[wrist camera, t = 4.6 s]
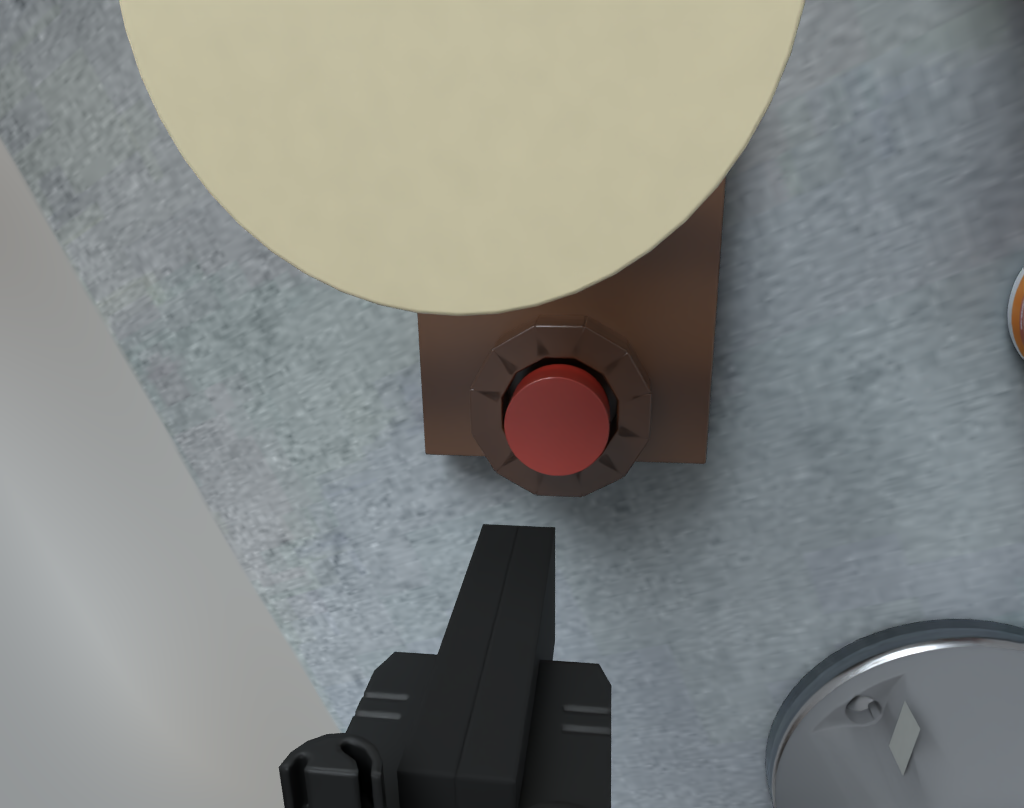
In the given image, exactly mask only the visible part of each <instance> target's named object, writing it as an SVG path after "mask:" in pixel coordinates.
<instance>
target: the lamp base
mask: <svg viewBox="0 0 1024 808" xmlns="http://www.w3.org/2000/svg"><path fill="white" fill-rule="evenodd" d="M725 184H726V176H725V177H724V179H723V180H722V182H721V183H720V184H719V186H718V187H717V188H716V189H715V190H714V192H713V193H712V194H711V195H710V196H709V197H708V198H707V199H706V200H705V201H704V202H703V203H702V205H701V206H700V207H699V208H698V209H697V210H696V211H695V212H694V213H693V214H692V215H691V216H690V218H689V219H688V220H687V221H686V222H685V223H684V224H682V225H681V226H680V227H679V228H678V229H676V230H675V231H674V232H673V233H672V234H671V235H669V236H668V237H667V238H666V239H665V240H663V241H662V242H661V243H660V244H659V245H658V246H656V247H655V248H654V249H653V250H652V251H650V252H649V253H647V254H646V255H644V256H643V257H641V258H640V259H638V260H637V261H635V262H633V263H632V264H630V265H629V266H627V267H626V268H624V269H623V270H621V271H620V272H618V273H617V274H615V275H613V276H611V277H609V278H607V279H605V280H603V281H601V282H599V283H597V284H594V285H592V286H590V287H588V288H586V289H584V290H582V291H580V292H578V293H576V294H573V295H570V296H567V297H563V298H560V299H557V300H554V301H551V302H548V303H545V304H542V305H539V306H536V307H530V308H525V309H520V310H515V311H509V312H504V313H499V314H485V315H467V316H451V315H437V314H424V313H418V331H419V348H420V366H421V383H422V401H423V418H424V436H425V452H426V454H431V455H460V456H486V458H487V460H488V461H489V463H490V464H491V466H492V467H493V469H494V471H496V472H497V473H498V474H499V475H501V476H503V477H505V478H506V479H508V480H510V481H512V482H513V483H515V484H517V485H519V486H521V487H522V488H524V489H526V490H528V491H529V492H531V493H533V494H536V495H540V496H565V497H582V496H586V495H588V494H590V493H592V492H594V491H596V490H598V489H600V488H602V487H605V486H607V485H609V484H611V483H613V482H615V481H617V480H619V479H621V478H623V477H624V476H625V475H626V474H627V472H628V471H629V470H630V468H631V467H632V465H633V464H634V462H635V461H636V462H665V463H695V464H705V463H706V454H707V440H708V426H709V412H710V397H711V383H712V369H713V355H714V340H715V326H716V312H717V298H718V283H719V269H720V255H721V241H722V226H723V212H724V198H725ZM551 364H567V365H572V366H575V367H578V368H581V369H583V370H585V371H586V372H588V373H589V374H591V375H592V376H593V377H594V378H595V379H596V380H597V381H598V382H599V383H600V384H601V386H602V387H603V389H604V391H605V393H606V395H607V398H608V401H609V406H610V430H609V437H608V442H607V444H606V447H605V449H604V451H603V452H602V454H601V455H600V456H599V458H598V459H597V460H596V461H595V462H594V463H593V464H591V465H590V466H589V467H587V468H586V469H584V470H582V471H580V472H577V473H574V474H571V475H564V476H553V475H546V474H542V473H539V472H537V471H535V470H533V469H531V468H529V467H527V466H526V465H525V464H523V463H522V462H521V461H520V460H519V459H518V458H517V457H516V456H515V454H514V453H513V452H512V450H511V448H510V446H509V445H508V442H507V439H506V435H505V429H504V419H505V414H506V411H507V408H508V405H509V403H510V400H511V398H512V396H513V393H514V391H515V389H516V387H517V386H518V384H519V383H520V382H521V381H522V379H523V378H524V377H525V376H527V375H528V374H529V373H530V372H532V371H534V370H535V369H538V368H540V367H543V366H546V365H551Z"/></svg>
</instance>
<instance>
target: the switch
mask: <svg viewBox="0 0 1024 808" xmlns="http://www.w3.org/2000/svg"><path fill="white" fill-rule="evenodd" d="M504 429H505V435H506V439H507V442H508V445H509V446H510V448H511V450H512V452H513V453H514V454H515V456H516V457H517V458H518V459H519V460H520V461H521V462H522V463H523V464H525V465H526V466H527V467H529V468H531V469H533V470H535V471H537V472H539V473H542V474H546V475H553V476H564V475H571V474H574V473H577V472H580V471H582V470H584V469H586V468H587V467H589V466H590V465H591V464H593V463H594V462H595V461H596V460H597V459H598V458H599V456H600V455H601V454H602V452H603V451H604V449H605V447H606V444H607V442H608V437H609V430H610V406H609V401H608V398H607V395H606V393H605V391H604V389H603V387H602V386H601V384H600V383H599V382H598V381H597V380H596V379H595V378H594V377H593V376H592V375H591V374H589V373H588V372H586V371H585V370H583V369H581V368H578V367H575V366H572V365H567V364H551V365H546V366H543V367H540V368H538V369H535V370H534V371H532V372H530V373H529V374H528V375H527V376H525V377H524V378H523V379H522V381H521V382H520V383H519V384H518V386H517V387H516V389H515V391H514V393H513V396H512V398H511V400H510V403H509V405H508V408H507V411H506V414H505V419H504Z"/></svg>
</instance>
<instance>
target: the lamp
mask: <svg viewBox="0 0 1024 808" xmlns="http://www.w3.org/2000/svg"><path fill="white" fill-rule="evenodd" d="M119 2H120V6H121V11H122V16H123V20H124V25H125V29H126V33H127V36H128V39H129V42H130V45H131V48H132V51H133V54H134V57H135V60H136V63H137V66H138V69H139V72H140V75H141V77H142V80H143V82H144V84H145V86H146V89H147V91H148V93H149V95H150V97H151V100H152V102H153V104H154V106H155V108H156V111H157V113H158V115H159V117H160V119H161V121H162V123H163V124H164V126H165V128H166V129H167V131H168V133H169V134H170V136H171V138H172V140H173V141H174V143H175V145H176V146H177V148H178V150H179V151H180V153H181V155H182V157H183V158H184V159H185V161H186V162H187V163H188V165H189V166H190V167H191V169H192V170H193V171H194V173H195V174H196V175H197V177H198V178H199V179H200V181H201V182H202V183H203V185H204V186H205V187H206V189H207V190H208V191H209V193H210V194H211V195H212V196H213V197H214V198H215V199H216V200H217V201H218V202H219V203H220V204H221V206H222V207H223V208H224V209H225V210H226V211H227V212H228V213H229V214H230V215H231V216H232V217H233V218H234V219H235V220H236V221H237V223H238V224H239V225H241V226H242V227H243V228H244V229H245V230H247V231H248V232H249V233H250V234H251V235H252V236H254V237H255V238H256V239H257V240H258V241H260V242H261V243H262V244H263V245H264V246H266V247H267V248H268V249H269V250H270V251H271V252H273V253H274V254H276V255H277V256H279V257H281V258H282V259H284V260H285V261H287V262H288V263H290V264H291V265H293V266H294V267H296V268H297V269H299V270H300V271H302V272H303V273H305V274H307V275H309V276H311V277H313V278H315V279H317V280H319V281H321V282H323V283H325V284H327V285H329V286H331V287H333V288H335V289H337V290H339V291H341V292H343V293H346V294H349V295H352V296H355V297H358V298H361V299H364V300H367V301H369V302H372V303H375V304H378V305H382V306H387V307H392V308H396V309H401V310H406V311H411V312H416V313H424V314H437V315H451V316H467V315H485V314H499V313H504V312H509V311H515V310H520V309H525V308H530V307H536V306H539V305H542V304H545V303H548V302H551V301H554V300H557V299H560V298H563V297H567V296H570V295H573V294H576V293H578V292H580V291H582V290H584V289H586V288H588V287H590V286H592V285H594V284H597V283H599V282H601V281H603V280H605V279H607V278H609V277H611V276H613V275H615V274H617V273H618V272H620V271H621V270H623V269H624V268H626V267H627V266H629V265H630V264H632V263H633V262H635V261H637V260H638V259H640V258H641V257H643V256H644V255H646V254H647V253H649V252H650V251H652V250H653V249H654V248H655V247H656V246H658V245H659V244H660V243H661V242H662V241H663V240H665V239H666V238H667V237H668V236H669V235H671V234H672V233H673V232H674V231H675V230H676V229H678V228H679V227H680V226H681V225H682V224H684V223H685V222H686V221H687V220H688V219H689V218H690V216H691V215H692V214H693V213H694V212H695V211H696V210H697V209H698V208H699V207H700V206H701V205H702V203H703V202H704V201H705V200H706V199H707V198H708V197H709V196H710V195H711V194H712V193H713V192H714V190H715V189H716V188H717V187H718V186H719V184H720V183H721V182H722V180H723V179H724V177H725V176H726V175H727V173H728V172H729V171H730V169H731V168H732V166H733V165H734V164H735V162H736V161H737V159H738V158H739V157H740V155H741V154H742V152H743V151H744V150H745V148H746V147H747V145H748V143H749V141H750V140H751V138H752V136H753V134H754V132H755V130H756V129H757V127H758V125H759V123H760V121H761V120H762V118H763V116H764V114H765V112H766V111H767V109H768V107H769V105H770V103H771V101H772V99H773V96H774V94H775V91H776V89H777V86H778V84H779V81H780V79H781V77H782V74H783V72H784V69H785V67H786V64H787V62H788V59H789V57H790V55H791V51H792V47H793V44H794V40H795V37H796V33H797V30H798V26H799V22H800V19H801V15H802V12H803V8H804V4H805V0H119Z"/></svg>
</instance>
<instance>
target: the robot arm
mask: <svg viewBox="0 0 1024 808" xmlns="http://www.w3.org/2000/svg"><path fill="white" fill-rule="evenodd" d="M554 644H555V528H554V527H532V526H511V525H489V524H483V526H482V529H481V532H480V535H479V538H478V541H477V543H476V546H475V549H474V552H473V555H472V558H471V561H470V563H469V566H468V569H467V572H466V575H465V578H464V581H463V583H462V586H461V589H460V592H459V595H458V598H457V601H456V603H455V606H454V609H453V612H452V615H451V618H450V620H449V623H448V626H447V629H446V632H445V635H444V638H443V640H442V643H441V646H440V649H439V652H438V655H434V654H419V653H405V652H394V653H393V654H392V655H391V656H390V657H389V658H388V659H387V660H386V661H384V662H383V663H382V664H381V665H380V666H379V667H378V668H377V669H376V670H374V673H373V675H372V677H371V679H370V681H369V683H368V686H367V688H366V690H365V692H364V697H362V699H361V701H360V703H359V705H358V707H357V709H356V713H355V716H353V718H352V720H351V722H350V725H349V727H348V729H347V731H346V733H337V734H326V735H323V736H321V737H318V738H315V739H312V740H309V741H307V742H305V743H304V744H303V745H301V746H299V747H298V748H296V749H295V750H294V751H292V752H291V753H290V754H289V755H288V756H287V758H286V759H285V760H284V761H283V763H282V764H281V765H280V766H279V772H280V779H281V785H282V792H283V799H284V806H285V808H611V684H610V682H609V681H608V679H607V677H606V675H605V674H604V672H603V670H602V668H601V667H600V665H599V664H594V663H579V662H565V661H552V660H553V652H554ZM765 766H766V777H767V782H768V787H769V791H770V795H771V799H772V804H773V808H1024V629H1023V628H1019V627H1016V626H1012V625H1008V624H1002V623H997V622H991V621H982V620H972V619H945V620H931V621H923V622H916V623H911V624H906V625H902V626H897V627H893V628H890V629H887V630H883V631H880V632H877V633H874V634H872V635H869V636H867V637H864V638H862V639H859V640H857V641H855V642H853V643H851V644H849V645H847V646H845V647H844V648H842V649H840V650H839V651H837V652H835V653H834V654H832V655H830V656H829V657H827V658H826V659H825V660H823V661H822V662H821V663H819V664H818V665H817V666H815V667H814V668H813V669H812V670H811V671H810V672H809V673H808V674H806V675H805V676H804V677H803V678H802V679H801V681H800V682H799V683H798V684H797V685H796V686H795V687H794V688H793V690H792V691H791V692H790V694H789V695H788V696H787V698H786V699H785V701H784V702H783V704H782V706H781V707H780V709H779V711H778V713H777V715H776V717H775V719H774V722H773V724H772V727H771V730H770V733H769V737H768V742H767V747H766V759H765Z"/></svg>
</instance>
